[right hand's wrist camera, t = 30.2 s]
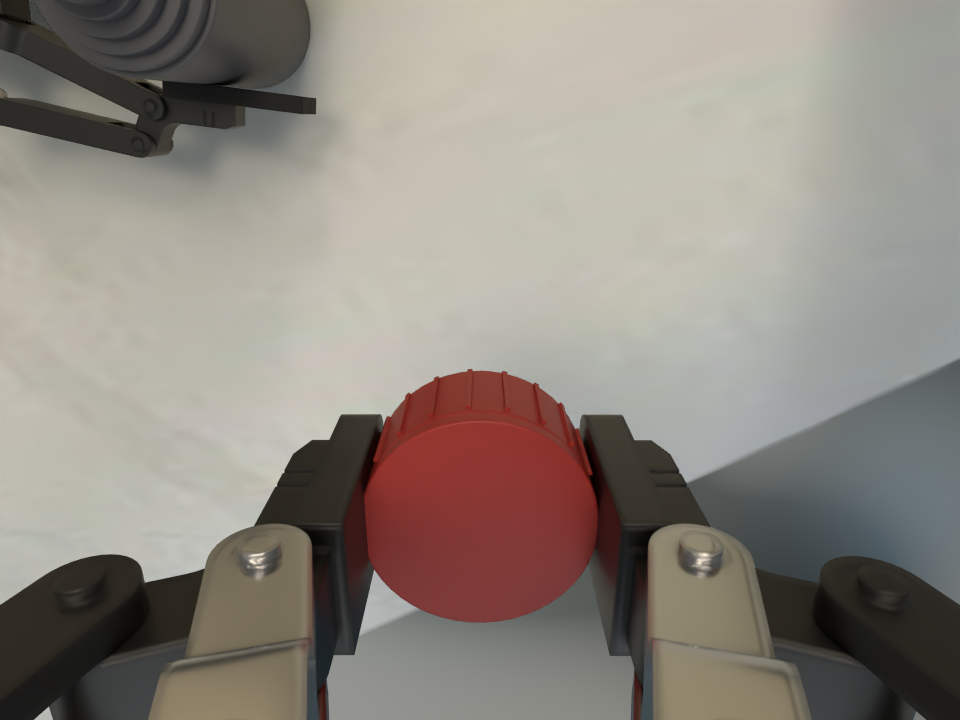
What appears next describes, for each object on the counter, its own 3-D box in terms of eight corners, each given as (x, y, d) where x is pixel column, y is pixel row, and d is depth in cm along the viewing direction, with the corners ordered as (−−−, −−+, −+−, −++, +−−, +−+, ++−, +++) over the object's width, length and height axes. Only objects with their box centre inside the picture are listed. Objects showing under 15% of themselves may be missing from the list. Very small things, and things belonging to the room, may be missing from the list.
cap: (515, 327, 11) (522, 371, 9) (619, 491, 12) (644, 560, 10) (334, 433, 12) (307, 495, 10) (449, 579, 13) (443, 659, 11)
